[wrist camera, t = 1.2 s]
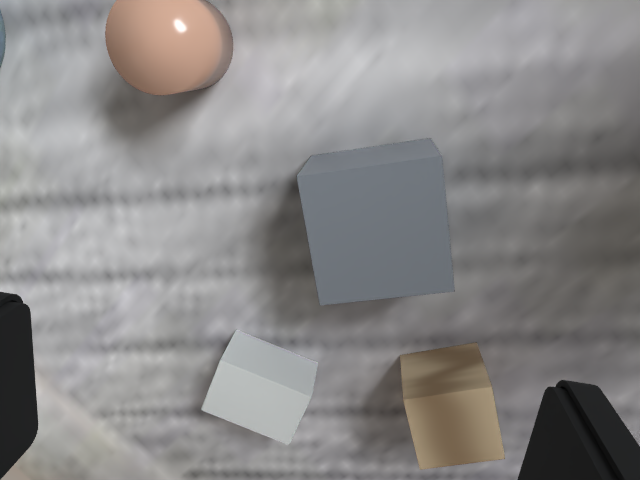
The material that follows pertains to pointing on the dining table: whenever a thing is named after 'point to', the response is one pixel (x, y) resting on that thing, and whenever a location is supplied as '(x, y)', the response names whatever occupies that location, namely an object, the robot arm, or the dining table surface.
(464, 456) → the oak cube
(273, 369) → the pale grey block
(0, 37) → the blue-grey cup
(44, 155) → the dining table surface
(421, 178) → the slate block
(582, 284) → the dining table surface
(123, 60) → the terracotta cylinder
